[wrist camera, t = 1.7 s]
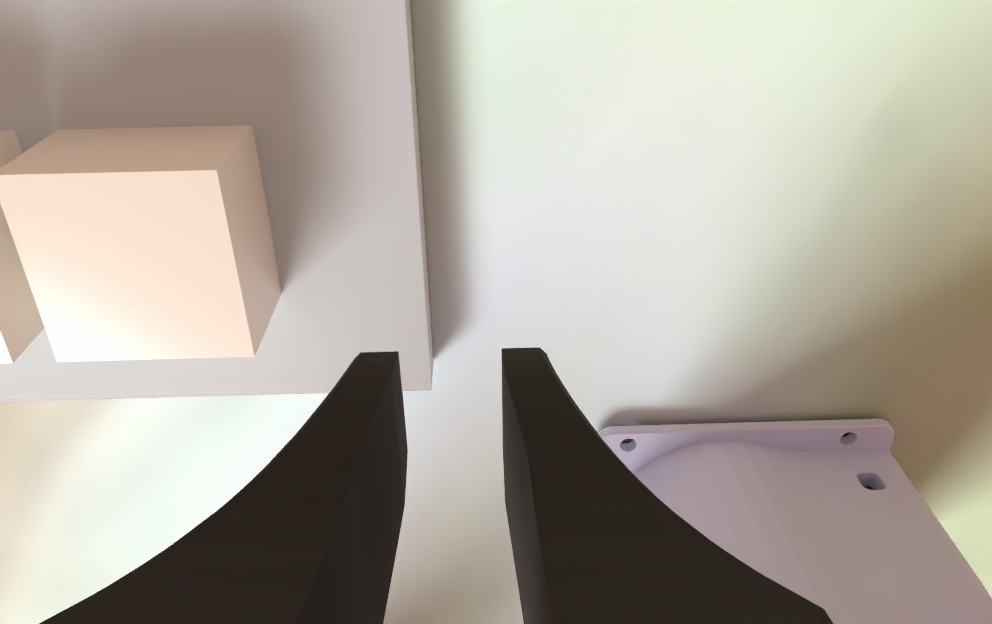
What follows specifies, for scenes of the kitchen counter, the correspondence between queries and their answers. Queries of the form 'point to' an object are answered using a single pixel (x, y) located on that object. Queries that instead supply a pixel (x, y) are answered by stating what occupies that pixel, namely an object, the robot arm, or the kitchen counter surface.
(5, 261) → the tile
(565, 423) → the robot arm
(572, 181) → the kitchen counter surface
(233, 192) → the tile
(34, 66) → the grey board
